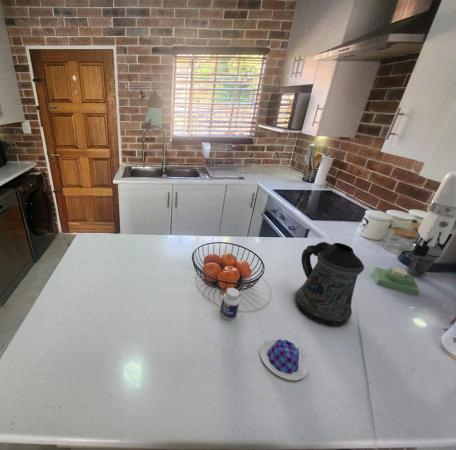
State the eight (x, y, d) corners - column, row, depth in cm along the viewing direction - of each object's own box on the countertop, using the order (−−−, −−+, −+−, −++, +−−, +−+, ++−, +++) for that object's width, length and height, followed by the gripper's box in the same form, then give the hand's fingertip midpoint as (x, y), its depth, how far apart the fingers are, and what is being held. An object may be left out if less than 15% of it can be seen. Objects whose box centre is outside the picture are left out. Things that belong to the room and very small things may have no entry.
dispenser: (408, 284, 101) (415, 273, 98) (414, 299, 93) (423, 287, 90) (371, 274, 106) (377, 262, 103) (374, 287, 98) (381, 275, 96)
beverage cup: (401, 267, 112) (424, 228, 103) (423, 273, 108) (449, 233, 99) (404, 275, 106) (428, 234, 97) (427, 282, 103) (455, 240, 94)
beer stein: (343, 337, 77) (378, 272, 65) (278, 304, 88) (299, 244, 77) (351, 308, 88) (382, 248, 76) (292, 283, 99) (312, 227, 88)
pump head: (403, 274, 98) (406, 270, 97) (406, 279, 95) (408, 275, 94) (390, 270, 99) (393, 266, 99) (392, 275, 96) (395, 271, 95)
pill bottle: (218, 317, 82) (223, 294, 78) (221, 306, 86) (225, 284, 82) (235, 322, 80) (241, 299, 76) (236, 310, 85) (242, 288, 80)
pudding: (313, 386, 63) (320, 373, 60) (264, 377, 64) (269, 364, 62) (297, 345, 73) (303, 333, 71) (255, 338, 75) (259, 326, 73)
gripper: (470, 219, 76) (439, 268, 84) (451, 204, 87) (425, 249, 95) (436, 213, 79) (409, 261, 87) (422, 200, 91) (400, 243, 99)
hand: (418, 254), depth 91 cm, fingers closed
